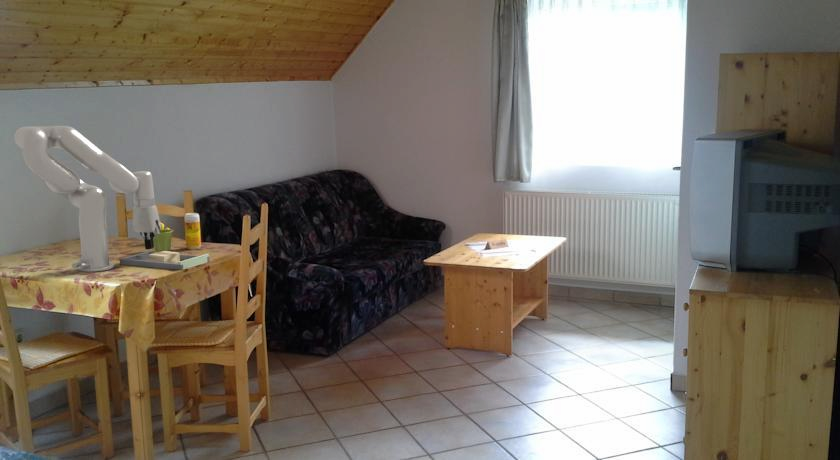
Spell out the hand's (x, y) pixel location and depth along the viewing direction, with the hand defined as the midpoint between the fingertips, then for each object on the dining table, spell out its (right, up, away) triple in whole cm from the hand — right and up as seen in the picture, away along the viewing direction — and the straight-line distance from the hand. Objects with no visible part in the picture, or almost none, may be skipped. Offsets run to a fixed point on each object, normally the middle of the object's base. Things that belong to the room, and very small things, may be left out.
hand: (149, 248), depth 303 cm
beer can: (+10, -1, +26) cm, 28 cm away
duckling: (-9, +1, +38) cm, 39 cm away
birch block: (+7, -6, -3) cm, 10 cm away
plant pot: (-1, -2, +20) cm, 20 cm away
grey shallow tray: (+7, -5, -3) cm, 9 cm away
